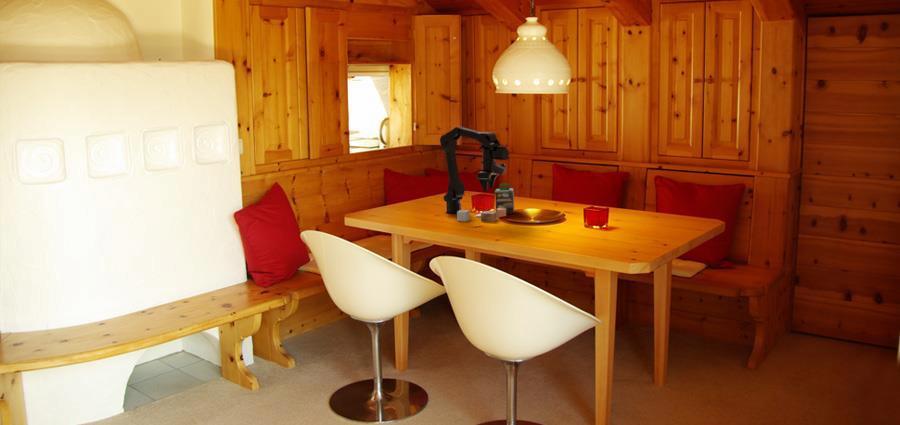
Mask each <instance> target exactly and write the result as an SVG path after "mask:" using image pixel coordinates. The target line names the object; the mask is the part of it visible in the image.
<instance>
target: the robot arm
mask: <svg viewBox="0 0 900 425" xmlns="http://www.w3.org/2000/svg"><path fill="white" fill-rule="evenodd" d="M461 137H464V138H468V139H471V140H476V141H477V142H478V144H481V145H480V146H479V147H478V150H482V160H481V161H480V163H481V164H482V168H481V170H480V171H479V172H477V174H476V179H477V181H479V184H480V185H481V188H482V190H483V192H484V193H487V192H488V187H489V189H490V190H493V189H494V184H495V181H496V178H497V177H498V176H499V175H500V176H503V175H505V173H506V171H507V166H506V164H505V163H504V162H503V163H501V164H498V163H497V161H496V160H498V161H507V160H508V159H509V157H510V152H509V149H508V148H507V145H502V144H501V143H500V141H499V140H498V138H497V135H496V133H495V132H491V131H479V130H474V129H471V128H466V127H464V126H461V125H460V126H455V127H454V128H452V129H451V130H450V131H448V132H447V133H445V134H443V135H441V137H440V138H439V142H440V147H441V149H442V150H443V152H444V153H445V159H446V166H447V172H448V178H449V179H448V184H447V192H446V193H445V195H444V196H443V200H444V202H446V211H445V214H456V215H457V212H458V211H460V210H462V203H461V200H463V197H464V195H465V192H466V188H465V183H464V182H461V180H460V175H459V169H458V162H457V156H456V150H457V147H458V141H459V140H460V139H461Z"/></svg>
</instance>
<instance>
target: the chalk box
mask: <svg viewBox="0 0 900 425" xmlns="http://www.w3.org/2000/svg"><path fill="white" fill-rule="evenodd" d="M504 186H505V187H504ZM514 191H515V190H514V188H513V187H511V188H510V183H500V184H499V188H496V189H495V191H494V196H495V197H494V198H495V202H494V203H495V212H497V209H498V208H506V213H513V212H514V213H515V192H514Z"/></svg>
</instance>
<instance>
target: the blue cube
mask: <svg viewBox="0 0 900 425" xmlns="http://www.w3.org/2000/svg"><path fill="white" fill-rule="evenodd" d="M456 217H457V218H456V219H457V221H458V222H467V221H469V220H470V210H466V209H465V210H464V209H461V210H460V211H458V212H457V214H456Z"/></svg>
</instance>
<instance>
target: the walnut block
mask: <svg viewBox="0 0 900 425" xmlns="http://www.w3.org/2000/svg"><path fill="white" fill-rule="evenodd" d="M480 214H481V217H480V222H490V223H492V222H495V221H497V220H498V217H497V212H496V211H489V210H485V211H482V212H480Z"/></svg>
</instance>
